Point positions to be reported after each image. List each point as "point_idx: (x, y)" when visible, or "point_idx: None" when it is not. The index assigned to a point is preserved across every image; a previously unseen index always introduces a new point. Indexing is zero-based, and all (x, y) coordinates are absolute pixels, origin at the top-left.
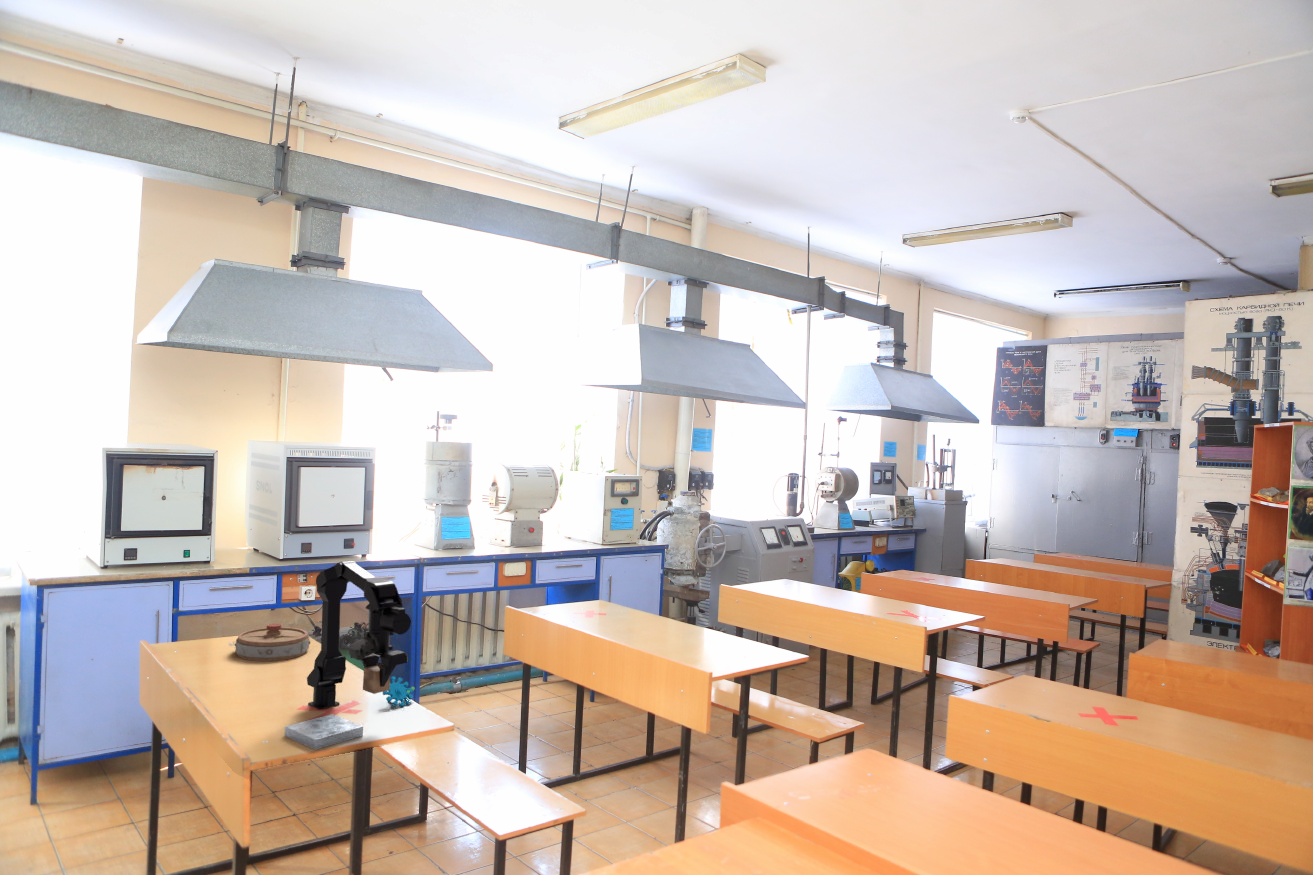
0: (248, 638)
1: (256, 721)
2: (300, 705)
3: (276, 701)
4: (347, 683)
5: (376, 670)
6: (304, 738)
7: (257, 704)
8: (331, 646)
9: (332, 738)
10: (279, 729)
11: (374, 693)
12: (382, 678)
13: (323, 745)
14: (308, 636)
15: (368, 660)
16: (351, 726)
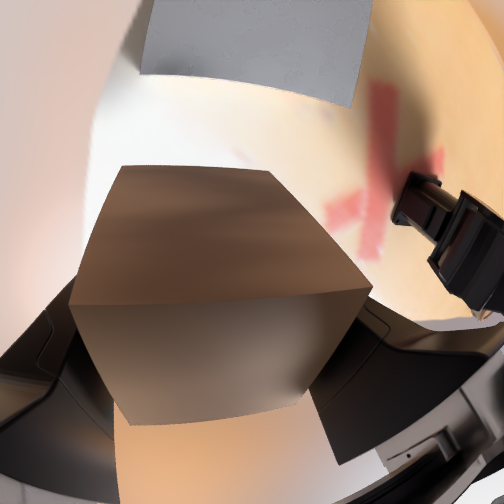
0: None
1: (457, 47)
2: (446, 169)
3: (475, 163)
4: (416, 295)
5: (127, 344)
6: None
7: (487, 135)
8: None
9: None
10: (401, 8)
11: (121, 170)
12: (63, 293)
13: None
14: (478, 319)
15: (390, 393)
16: (180, 40)
